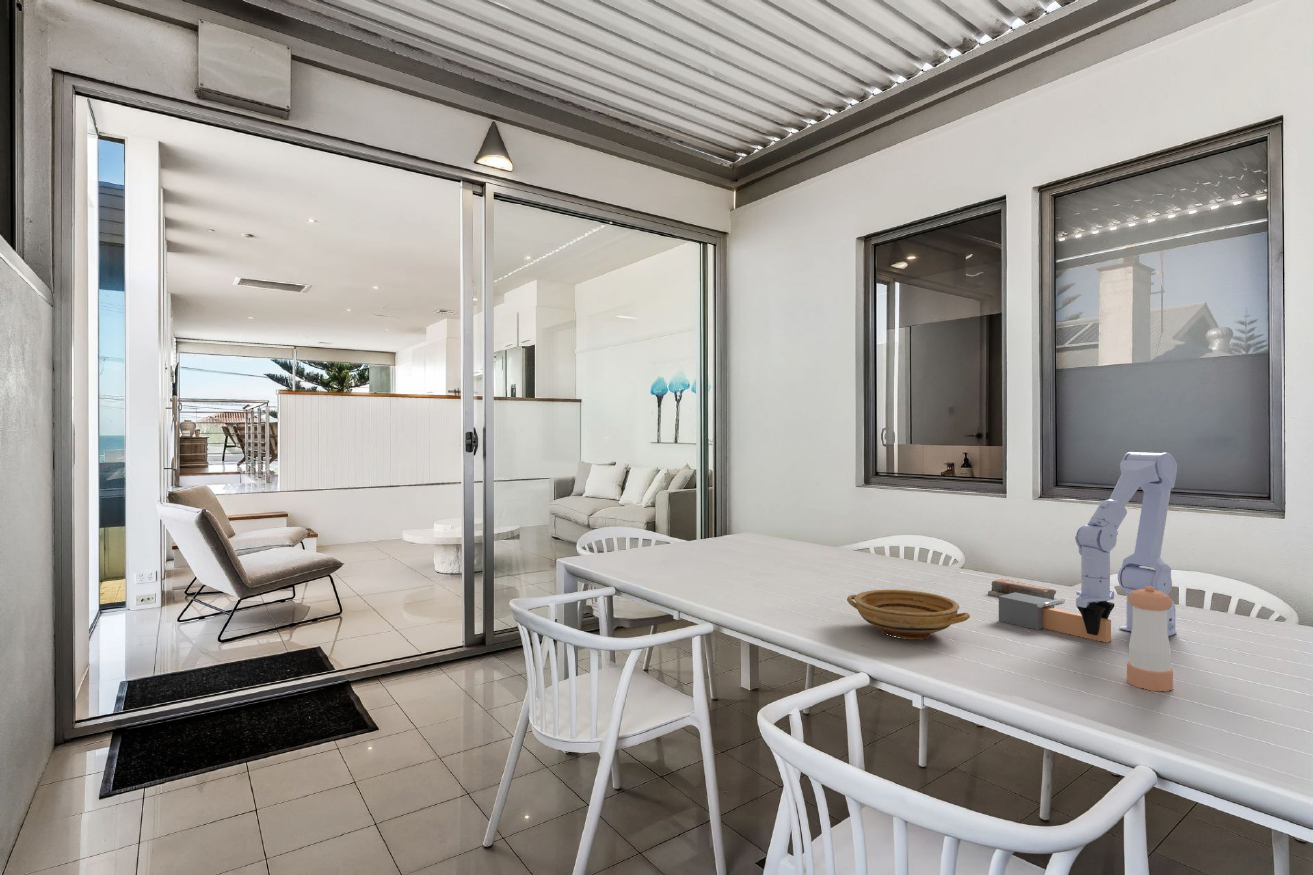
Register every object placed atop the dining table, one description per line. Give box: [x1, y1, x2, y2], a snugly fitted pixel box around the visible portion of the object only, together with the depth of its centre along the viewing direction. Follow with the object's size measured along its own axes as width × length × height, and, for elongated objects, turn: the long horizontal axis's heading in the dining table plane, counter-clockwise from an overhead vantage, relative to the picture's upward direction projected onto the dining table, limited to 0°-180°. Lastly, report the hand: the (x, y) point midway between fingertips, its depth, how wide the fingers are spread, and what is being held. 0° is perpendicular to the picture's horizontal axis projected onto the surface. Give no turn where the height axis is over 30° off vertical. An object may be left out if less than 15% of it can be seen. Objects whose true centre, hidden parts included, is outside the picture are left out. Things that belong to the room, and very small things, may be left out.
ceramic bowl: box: [846, 589, 971, 640], centre depth 167 cm, size 30×24×8 cm
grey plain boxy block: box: [998, 592, 1058, 631], centre depth 174 cm, size 11×8×6 cm
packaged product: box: [987, 578, 1066, 606], centre depth 200 cm, size 18×5×10 cm
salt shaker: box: [1126, 586, 1174, 692], centre depth 132 cm, size 7×7×19 cm
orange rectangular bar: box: [1043, 607, 1112, 644], centre depth 166 cm, size 16×2×5 cm, turn 33°
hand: (1095, 633), depth 161 cm, fingers closed on orange rectangular bar, 2 cm apart
